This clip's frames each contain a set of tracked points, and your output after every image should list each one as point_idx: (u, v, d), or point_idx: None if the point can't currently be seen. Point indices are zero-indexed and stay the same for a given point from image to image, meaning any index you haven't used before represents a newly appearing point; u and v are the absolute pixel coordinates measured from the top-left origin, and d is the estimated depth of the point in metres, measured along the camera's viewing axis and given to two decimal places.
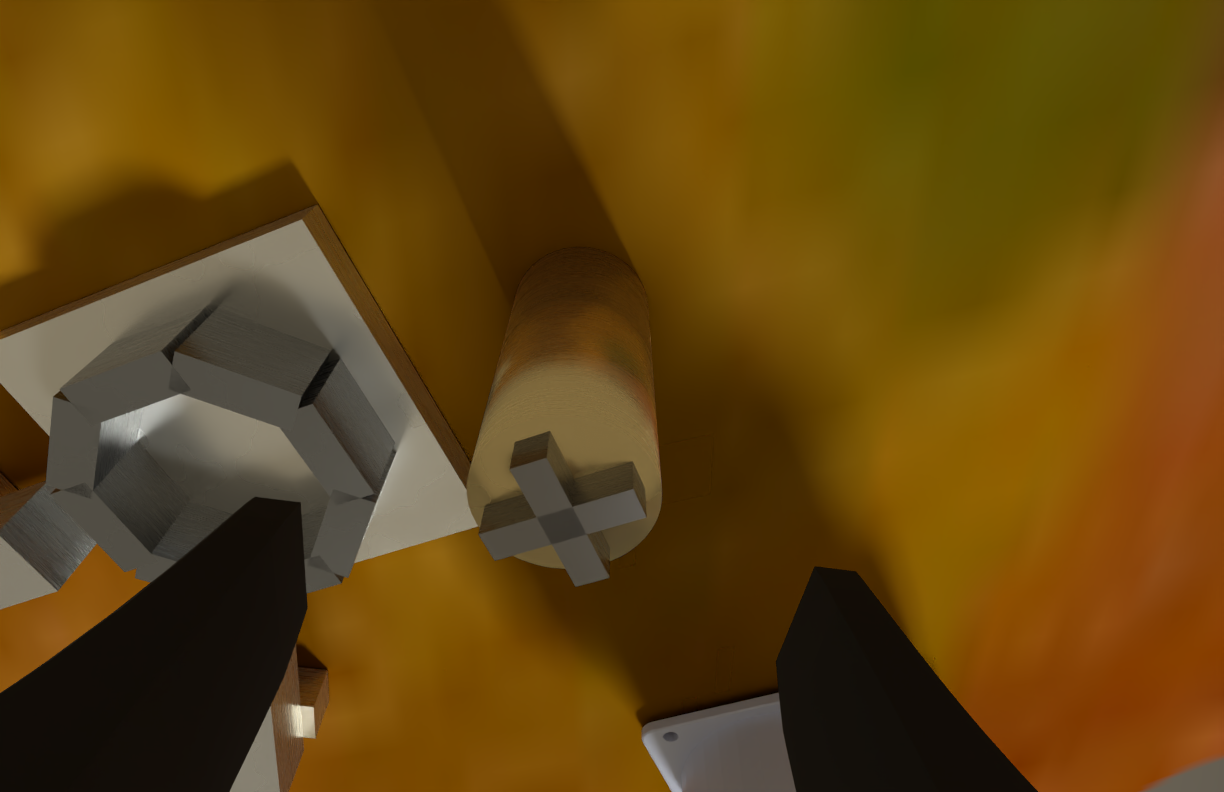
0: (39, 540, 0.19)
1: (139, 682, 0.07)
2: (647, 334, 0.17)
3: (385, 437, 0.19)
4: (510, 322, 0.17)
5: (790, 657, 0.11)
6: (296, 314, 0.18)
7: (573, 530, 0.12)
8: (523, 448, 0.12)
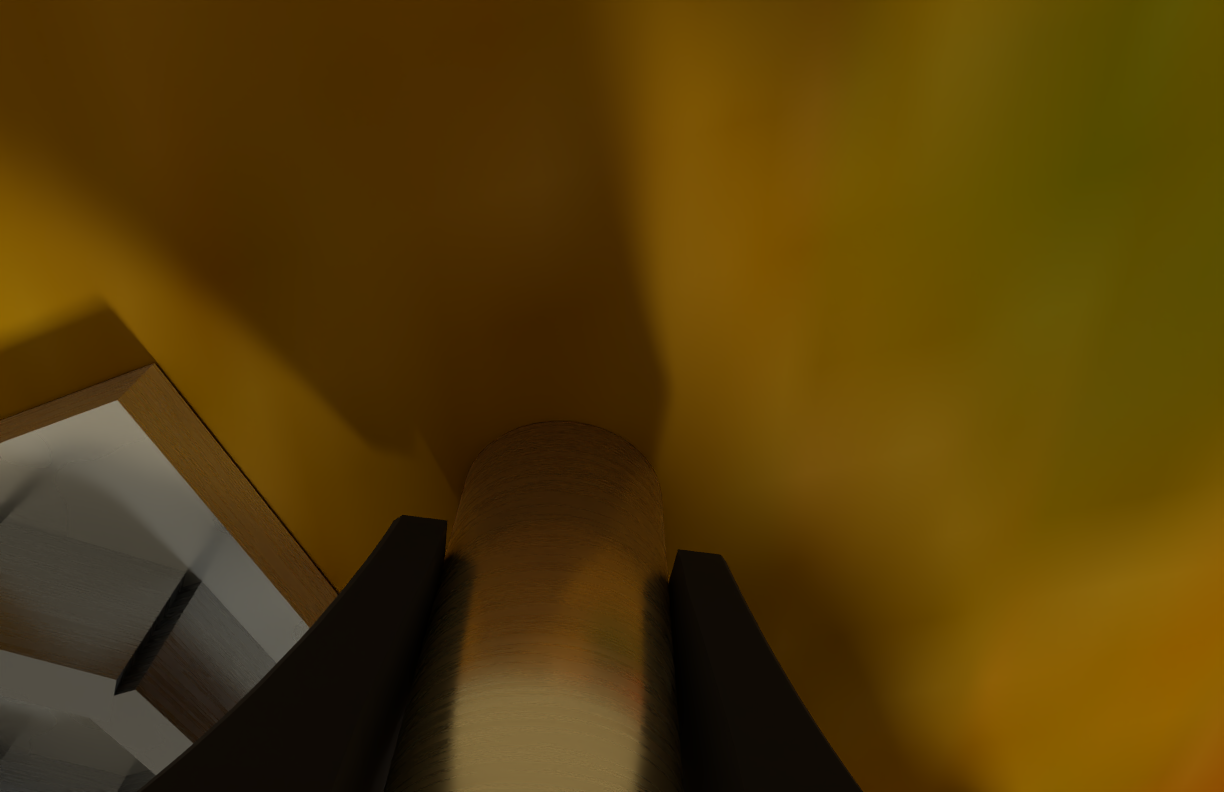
0: None
1: (351, 704, 0.07)
2: (663, 582, 0.10)
3: None
4: (446, 564, 0.10)
5: None
6: (128, 526, 0.12)
7: None
8: None
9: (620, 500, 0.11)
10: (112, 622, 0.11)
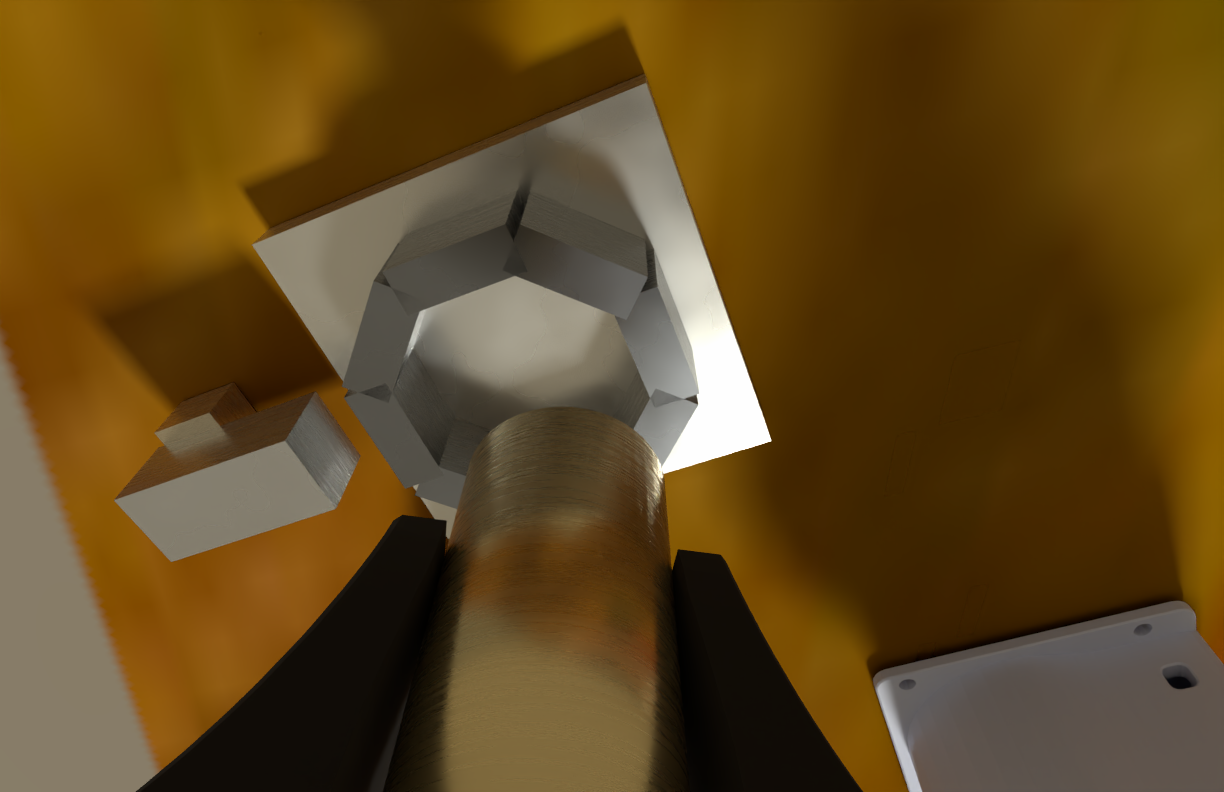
0: (316, 453, 0.18)
1: (351, 704, 0.07)
2: (669, 572, 0.11)
3: (687, 339, 0.18)
4: (454, 541, 0.10)
5: None
6: (616, 197, 0.16)
7: None
8: None
9: (630, 488, 0.11)
10: (625, 251, 0.16)
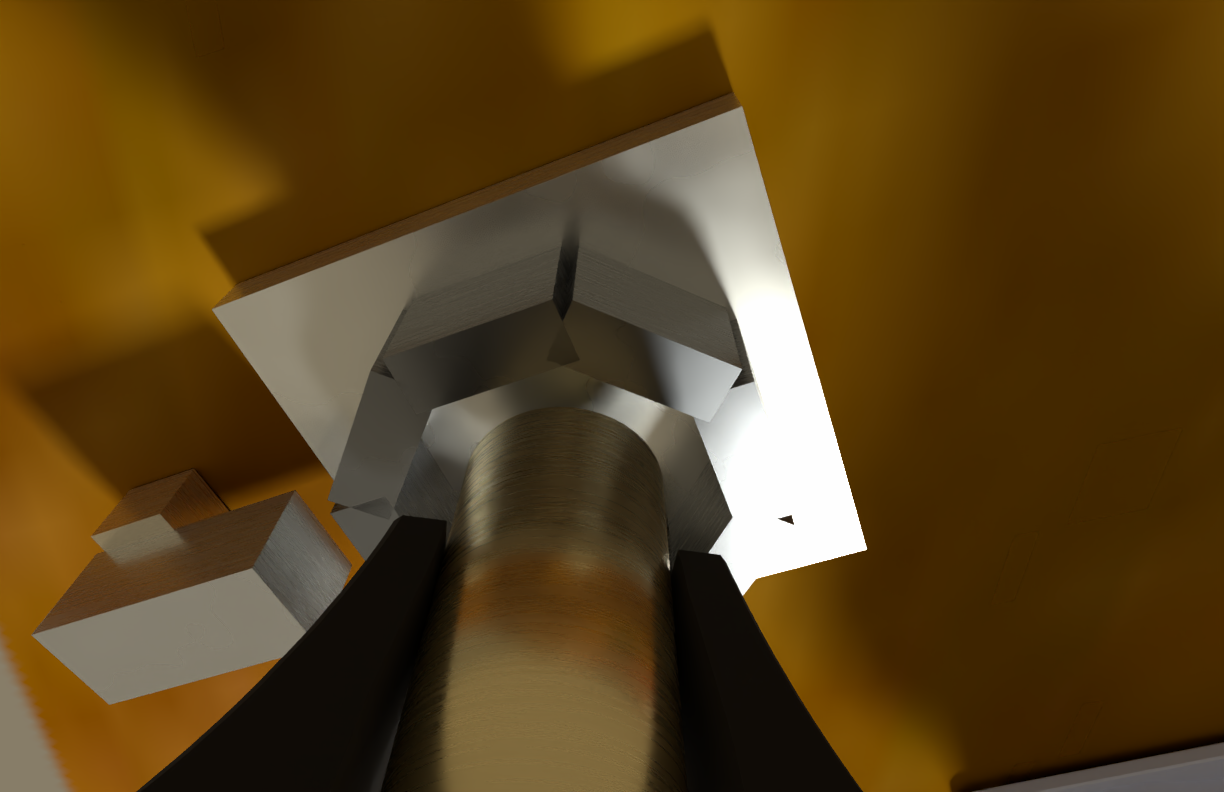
0: (294, 576, 0.14)
1: (351, 705, 0.07)
2: (668, 572, 0.11)
3: (773, 431, 0.14)
4: (452, 542, 0.10)
5: None
6: (692, 254, 0.12)
7: None
8: None
9: (629, 488, 0.11)
10: (707, 330, 0.12)
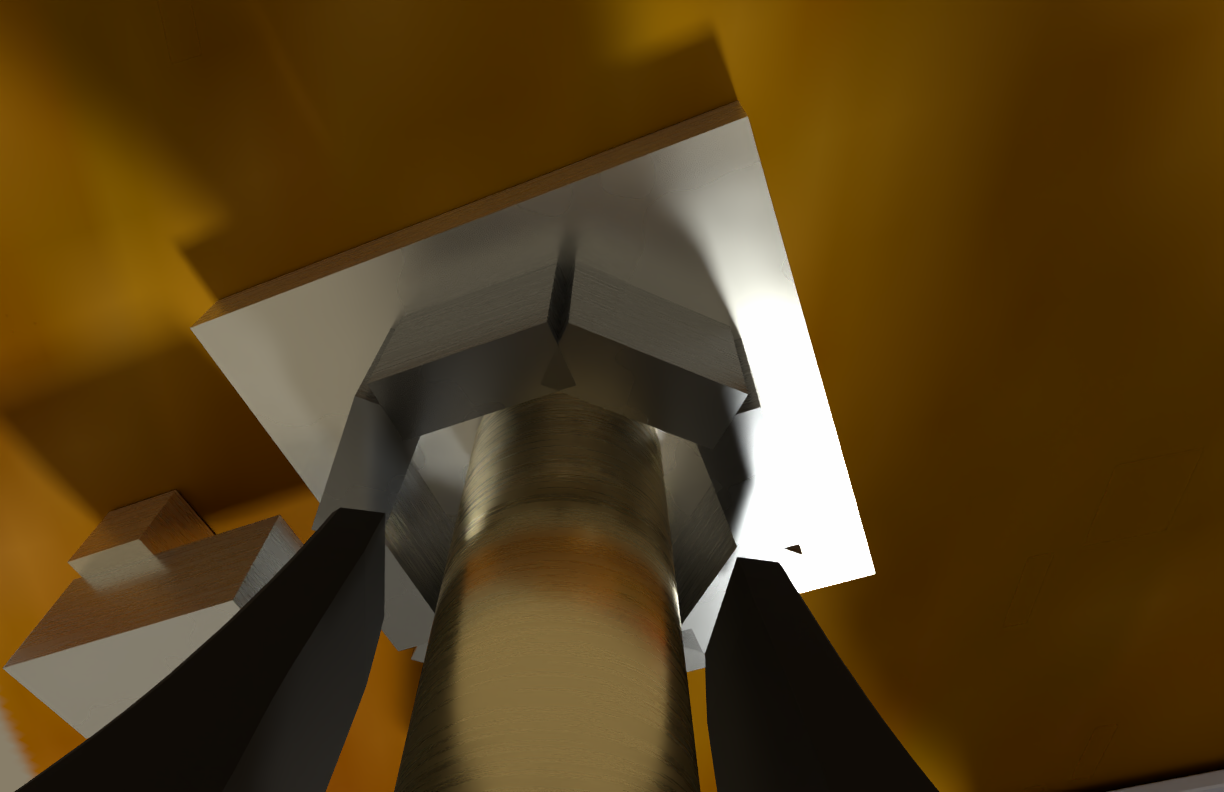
0: None
1: (262, 695, 0.07)
2: (667, 524, 0.11)
3: (779, 454, 0.13)
4: (466, 498, 0.11)
5: (715, 648, 0.11)
6: (695, 271, 0.12)
7: None
8: None
9: (630, 447, 0.12)
10: (710, 352, 0.11)
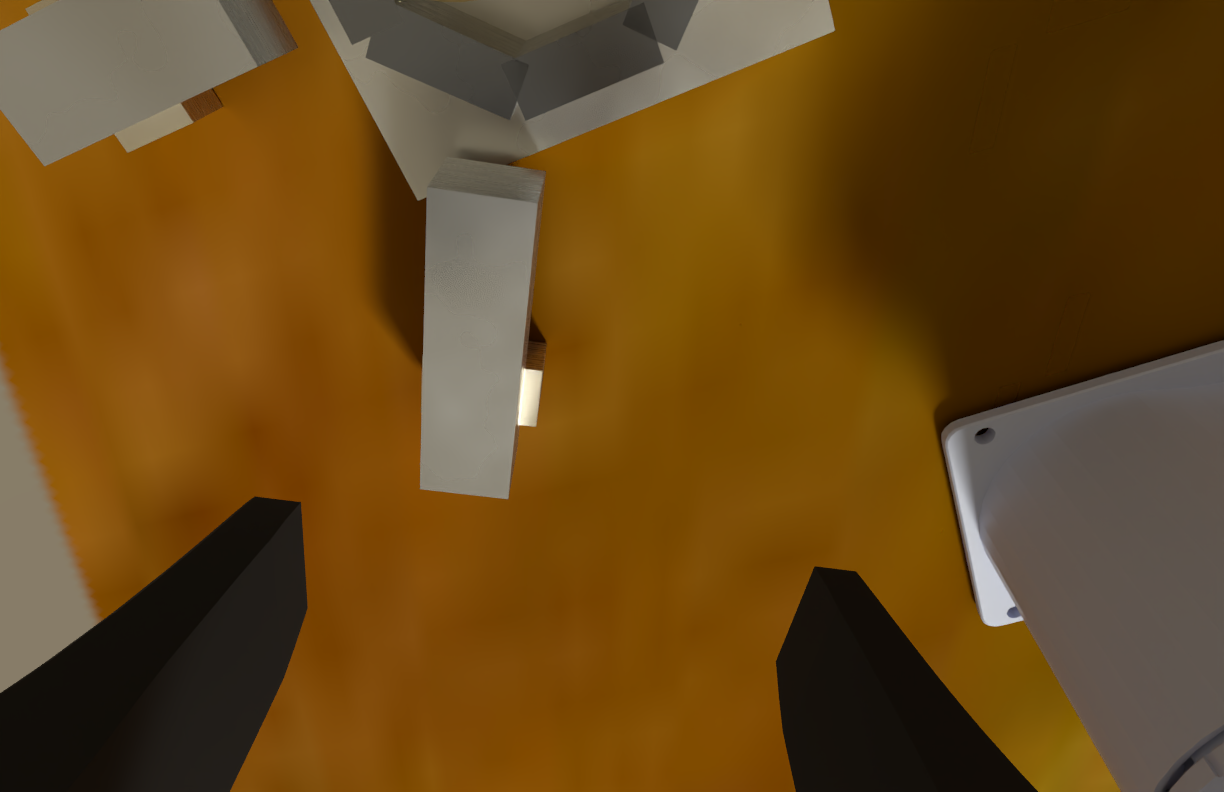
0: None
1: (139, 682, 0.07)
2: None
3: None
4: None
5: (790, 657, 0.11)
6: None
7: None
8: None
9: None
10: None
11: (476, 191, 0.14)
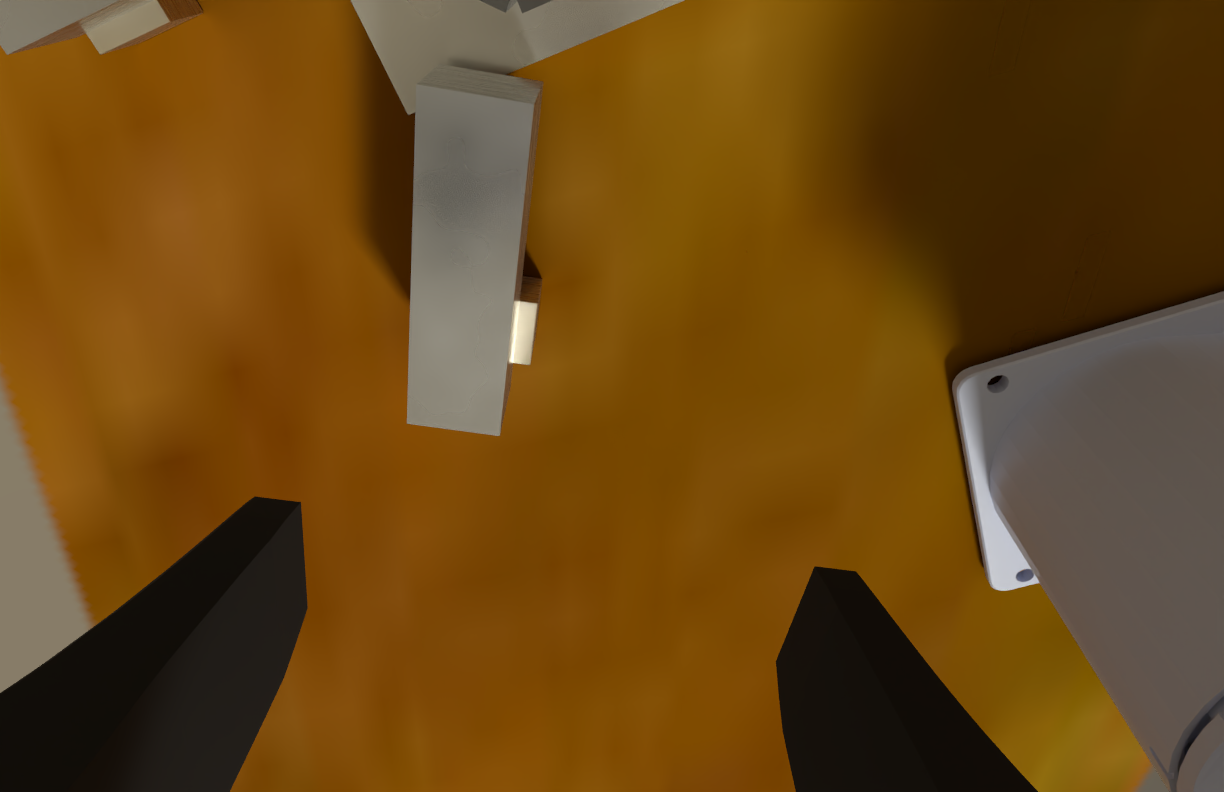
0: None
1: (139, 682, 0.07)
2: None
3: None
4: None
5: (790, 657, 0.11)
6: None
7: None
8: None
9: None
10: None
11: (468, 91, 0.13)
